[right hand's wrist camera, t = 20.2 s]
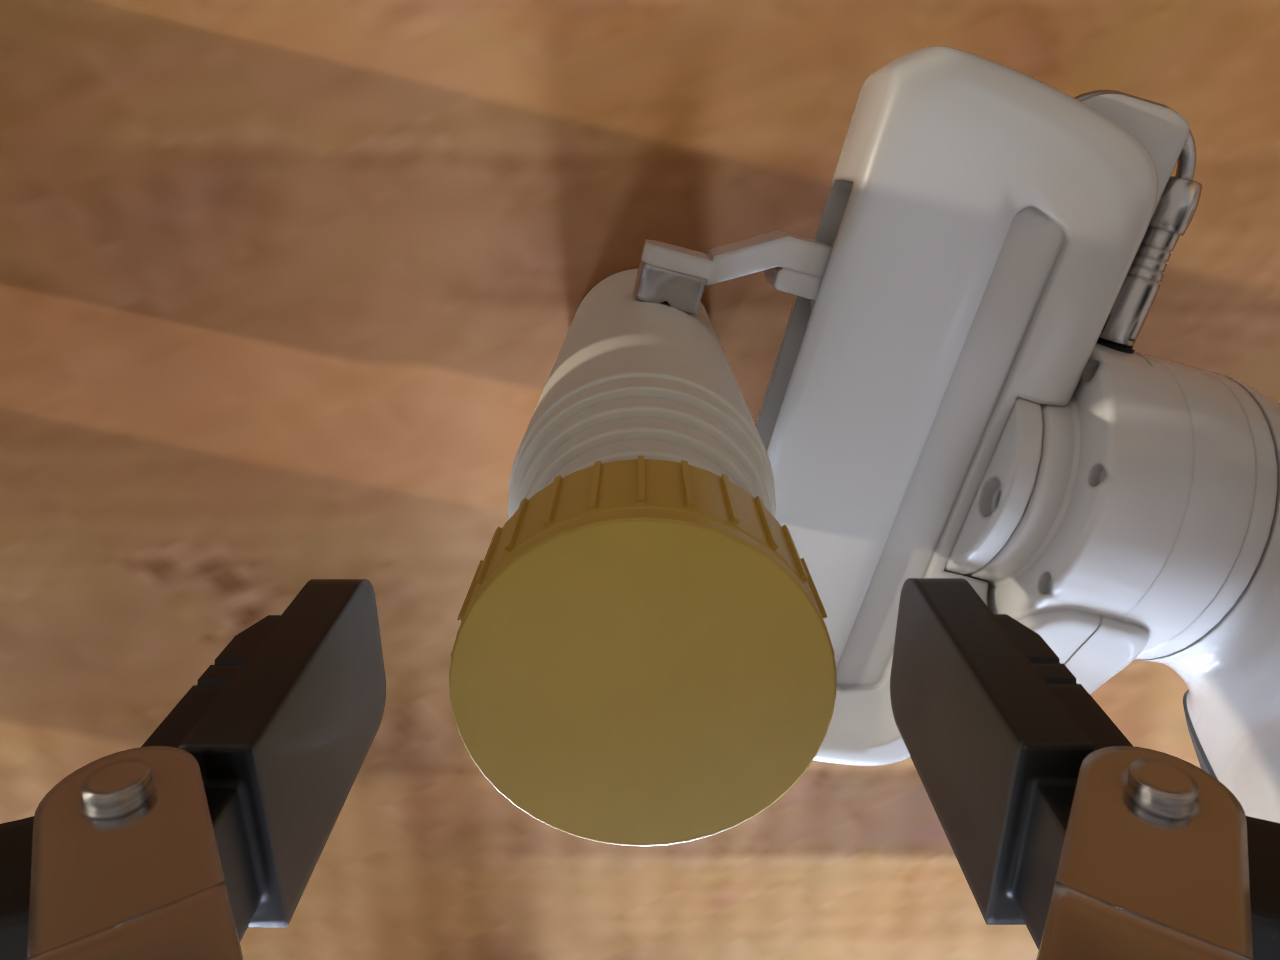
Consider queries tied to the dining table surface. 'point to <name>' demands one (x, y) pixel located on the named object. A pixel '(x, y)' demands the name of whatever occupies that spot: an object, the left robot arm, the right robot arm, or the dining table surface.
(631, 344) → the bottle
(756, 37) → the dining table surface
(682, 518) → the cap
